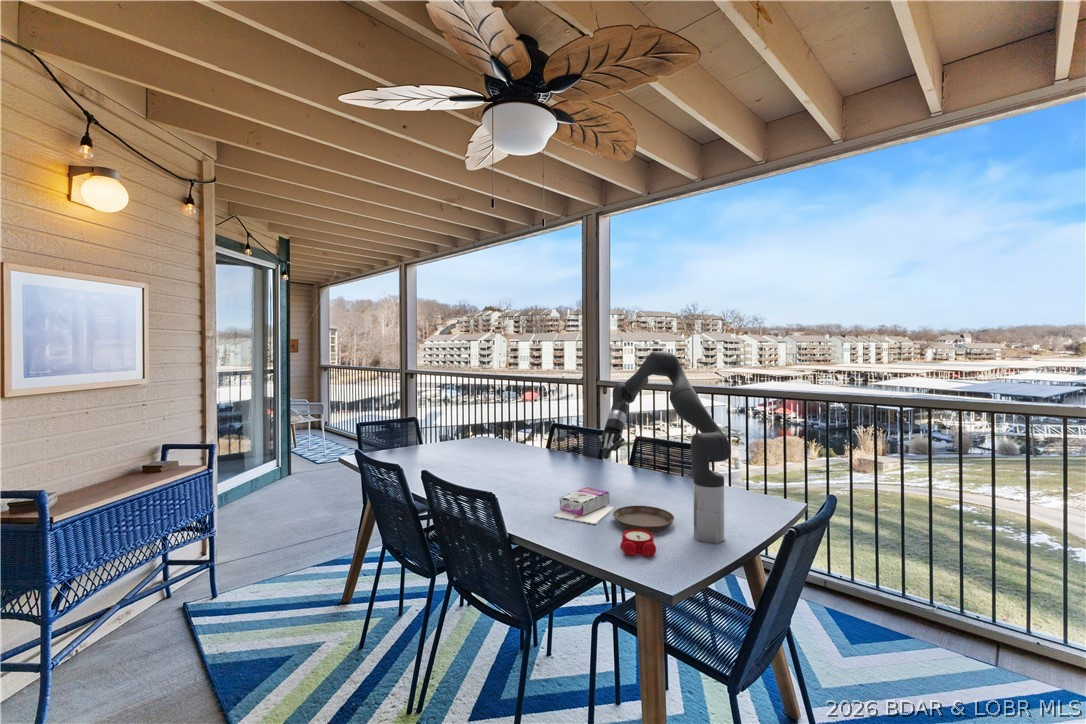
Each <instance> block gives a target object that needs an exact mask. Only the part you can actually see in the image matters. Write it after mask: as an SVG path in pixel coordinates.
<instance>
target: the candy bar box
mask: <svg viewBox="0 0 1086 724" xmlns="http://www.w3.org/2000/svg"><path fill="white" fill-rule="evenodd" d="M609 493H610V491H605V490H601V489H598V488H597V489H596V488H591V487H589V486H586V487H583V488H581V489H579V490H575V491H573V492H570V493H567V494H566V495H563V496H560V497H559V509H560V511H562V510H563V511H568V512H571V513H575V514H579V515H585V514H587V513H590V512H592V511H594V510H596V509H599V508H601V507H603V506H608V505H609V504H610V494H609Z"/></svg>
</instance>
